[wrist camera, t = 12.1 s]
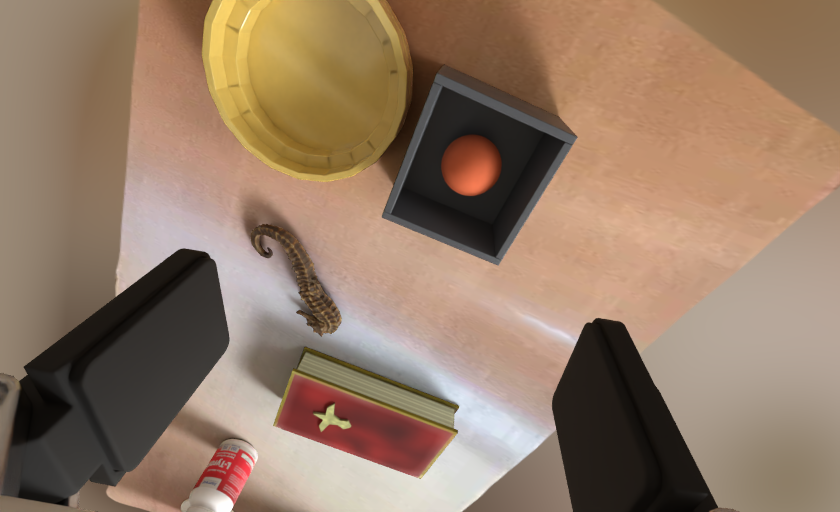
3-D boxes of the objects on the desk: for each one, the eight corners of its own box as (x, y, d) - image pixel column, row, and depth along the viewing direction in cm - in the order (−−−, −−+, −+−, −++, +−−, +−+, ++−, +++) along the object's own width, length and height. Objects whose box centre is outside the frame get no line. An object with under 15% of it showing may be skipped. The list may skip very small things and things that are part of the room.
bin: (443, 63, 30) (436, 72, 25) (559, 117, 31) (578, 137, 26) (395, 188, 36) (381, 217, 31) (494, 230, 37) (498, 266, 32)
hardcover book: (422, 453, 56) (419, 482, 53) (284, 402, 54) (271, 429, 51) (458, 405, 50) (457, 435, 47) (305, 346, 48) (291, 372, 45)
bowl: (245, -80, 27) (212, -95, 24) (443, 14, 29) (439, 13, 25) (222, 125, 35) (194, 136, 32) (379, 191, 37) (369, 209, 33)
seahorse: (288, 214, 39) (279, 223, 37) (355, 324, 45) (349, 336, 44) (247, 228, 41) (236, 237, 39) (316, 331, 47) (309, 342, 46)
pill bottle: (244, 434, 59) (201, 512, 50) (266, 458, 62) (229, 536, 53) (213, 440, 61) (165, 515, 52) (235, 463, 64) (194, 539, 54)
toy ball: (457, 118, 32) (454, 133, 28) (510, 142, 32) (515, 160, 28) (434, 170, 34) (429, 191, 30) (484, 191, 35) (485, 214, 31)
